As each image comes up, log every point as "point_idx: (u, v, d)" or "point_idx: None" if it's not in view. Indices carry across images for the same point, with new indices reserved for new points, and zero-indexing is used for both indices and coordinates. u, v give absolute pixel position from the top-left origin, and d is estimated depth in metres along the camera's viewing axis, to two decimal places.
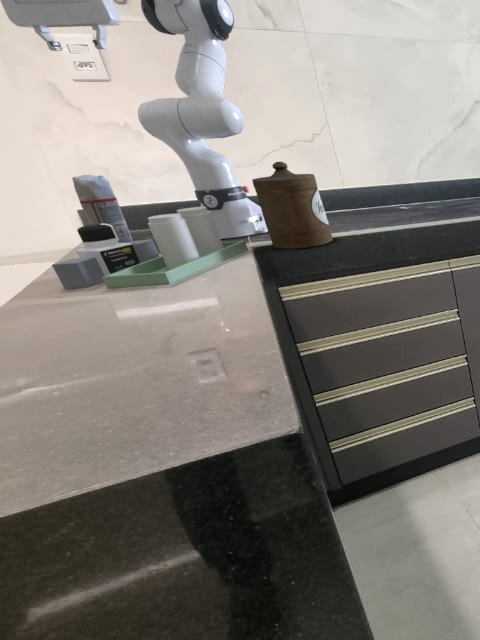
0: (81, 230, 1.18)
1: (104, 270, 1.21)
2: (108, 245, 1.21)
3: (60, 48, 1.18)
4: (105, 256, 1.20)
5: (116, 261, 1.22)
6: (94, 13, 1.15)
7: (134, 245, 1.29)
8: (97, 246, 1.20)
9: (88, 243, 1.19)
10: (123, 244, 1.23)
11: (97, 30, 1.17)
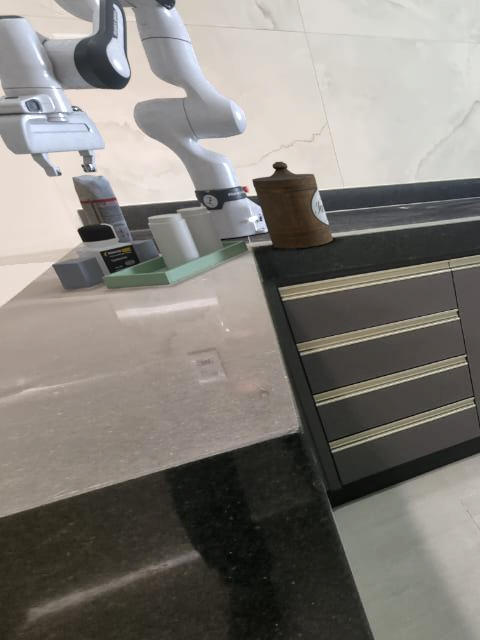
0: (81, 230, 1.18)
1: (104, 270, 1.21)
2: (108, 245, 1.21)
3: None
4: (105, 256, 1.20)
5: (116, 261, 1.22)
6: (95, 141, 1.21)
7: (134, 245, 1.29)
8: (97, 246, 1.20)
9: (88, 243, 1.19)
10: (123, 244, 1.23)
11: (93, 155, 1.21)
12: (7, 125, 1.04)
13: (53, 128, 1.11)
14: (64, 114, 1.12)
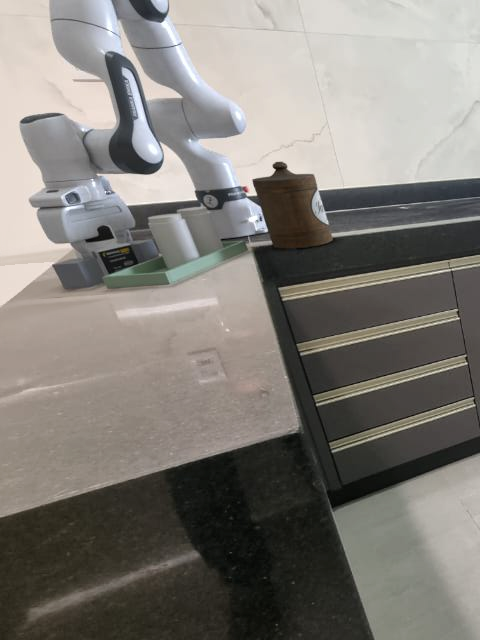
0: None
1: (103, 271, 1.21)
2: (107, 245, 1.21)
3: None
4: (103, 257, 1.20)
5: (115, 261, 1.22)
6: (126, 221, 1.27)
7: (134, 245, 1.29)
8: (96, 247, 1.20)
9: None
10: (122, 244, 1.23)
11: (125, 234, 1.27)
12: (48, 218, 1.10)
13: (90, 215, 1.18)
14: (99, 201, 1.19)
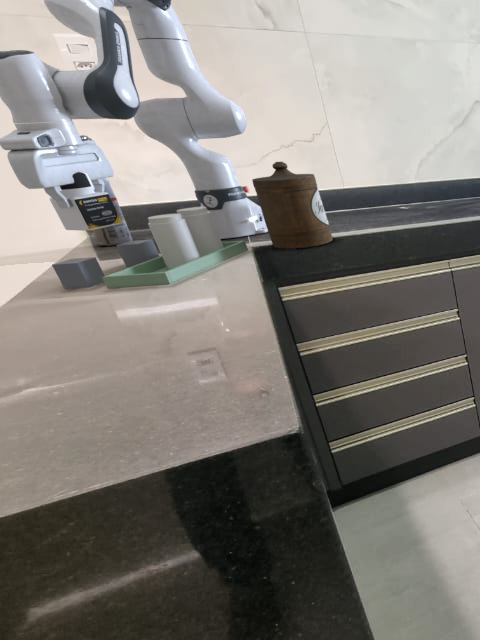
0: None
1: (80, 220, 1.17)
2: (83, 193, 1.17)
3: None
4: (80, 205, 1.15)
5: (92, 210, 1.18)
6: (104, 169, 1.22)
7: (134, 245, 1.29)
8: (72, 194, 1.15)
9: (62, 191, 1.15)
10: (99, 193, 1.19)
11: (103, 183, 1.23)
12: (20, 161, 1.06)
13: (64, 160, 1.13)
14: (74, 146, 1.14)
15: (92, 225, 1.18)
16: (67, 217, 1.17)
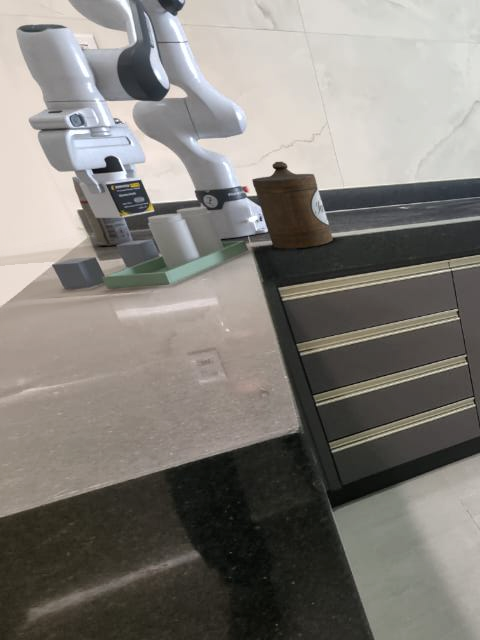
0: None
1: (111, 206, 1.09)
2: (115, 178, 1.09)
3: None
4: (112, 190, 1.08)
5: (124, 197, 1.10)
6: (136, 154, 1.15)
7: (134, 245, 1.29)
8: (103, 179, 1.08)
9: (93, 175, 1.07)
10: (131, 178, 1.12)
11: (134, 169, 1.15)
12: (51, 141, 0.98)
13: (96, 142, 1.06)
14: (107, 128, 1.07)
15: (124, 212, 1.10)
16: (98, 204, 1.09)
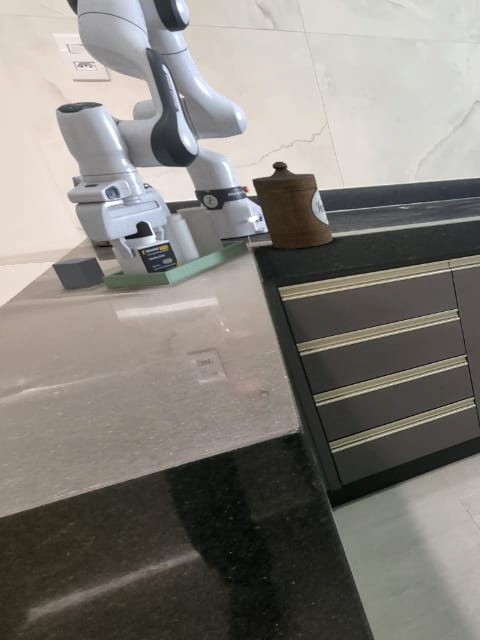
0: None
1: (142, 269, 1.15)
2: (145, 243, 1.15)
3: None
4: (143, 254, 1.14)
5: (154, 259, 1.16)
6: (164, 216, 1.21)
7: None
8: (135, 244, 1.14)
9: None
10: (160, 241, 1.17)
11: (162, 231, 1.21)
12: (88, 214, 1.04)
13: (128, 210, 1.12)
14: (138, 196, 1.13)
15: None
16: (129, 266, 1.15)
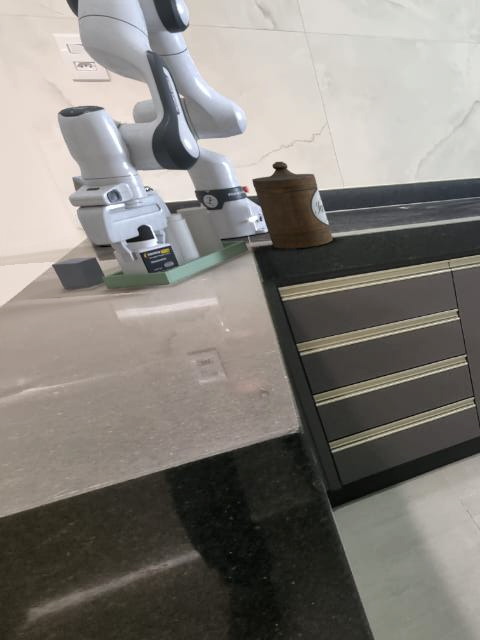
0: None
1: (144, 272, 1.15)
2: (147, 246, 1.15)
3: None
4: (145, 258, 1.14)
5: (155, 263, 1.16)
6: (165, 219, 1.21)
7: None
8: (136, 247, 1.14)
9: (127, 244, 1.13)
10: (162, 245, 1.18)
11: (164, 233, 1.21)
12: (90, 218, 1.04)
13: (130, 213, 1.12)
14: (140, 199, 1.13)
15: None
16: (130, 270, 1.15)
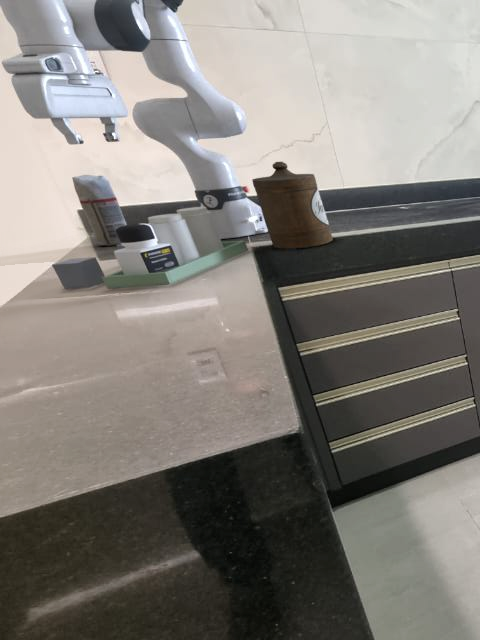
0: (120, 230, 1.12)
1: (144, 272, 1.15)
2: (148, 246, 1.15)
3: None
4: (145, 257, 1.14)
5: (156, 263, 1.16)
6: (117, 107, 1.11)
7: None
8: (137, 247, 1.14)
9: (127, 244, 1.13)
10: (162, 245, 1.18)
11: (116, 123, 1.11)
12: (25, 85, 0.94)
13: (75, 91, 1.02)
14: (86, 76, 1.03)
15: None
16: (131, 270, 1.15)
